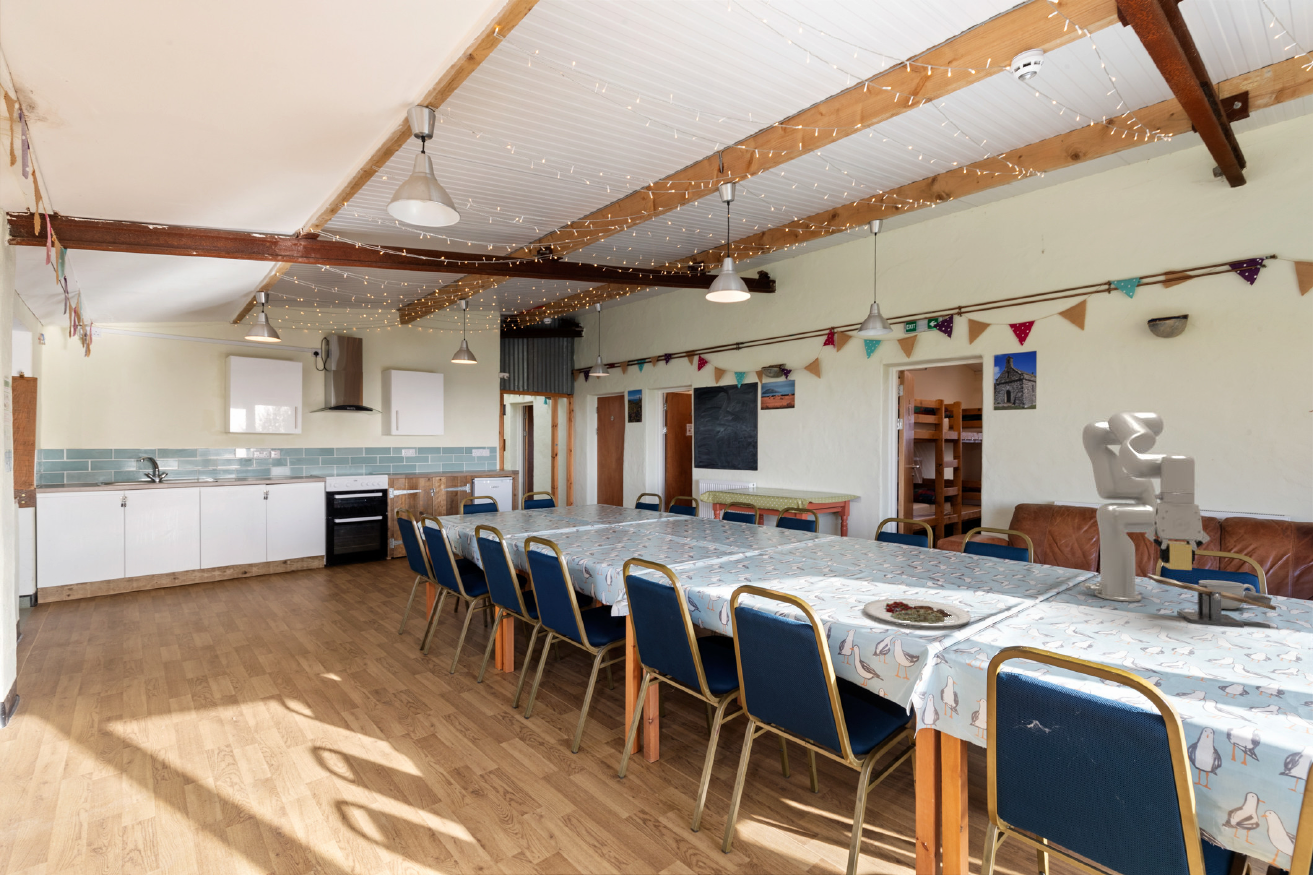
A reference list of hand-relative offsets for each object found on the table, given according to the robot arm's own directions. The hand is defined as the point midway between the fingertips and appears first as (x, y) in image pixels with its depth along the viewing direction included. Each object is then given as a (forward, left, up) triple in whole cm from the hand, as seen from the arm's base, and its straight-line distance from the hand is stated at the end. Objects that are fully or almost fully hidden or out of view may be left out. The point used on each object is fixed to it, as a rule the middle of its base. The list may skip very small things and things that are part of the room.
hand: (1177, 562), depth 182 cm
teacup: (+23, +30, -19) cm, 42 cm away
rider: (0, 0, -2) cm, 2 cm away
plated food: (-69, -13, -19) cm, 73 cm away
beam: (+11, +10, -10) cm, 18 cm away
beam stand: (+11, +10, -18) cm, 24 cm away
